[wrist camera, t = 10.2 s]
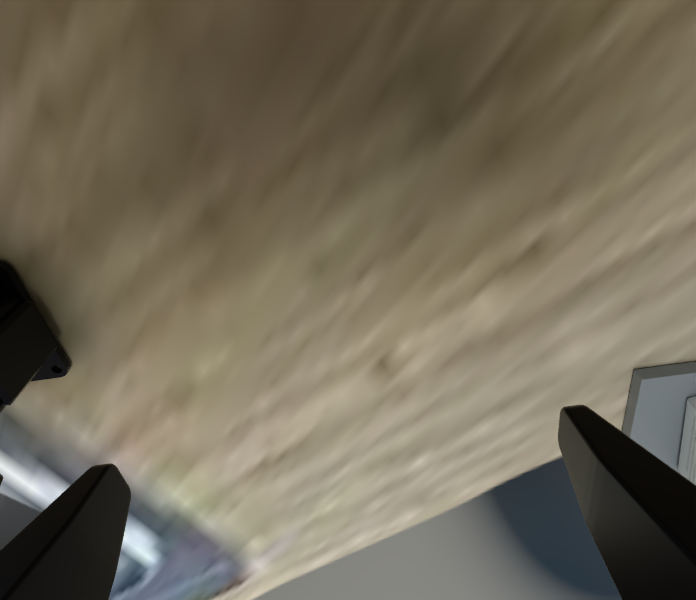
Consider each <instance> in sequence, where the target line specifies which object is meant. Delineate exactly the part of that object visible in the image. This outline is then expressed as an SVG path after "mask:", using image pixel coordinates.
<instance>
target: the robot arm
mask: <svg viewBox="0 0 696 600" xmlns="http://www.w3.org/2000/svg"><path fill="white" fill-rule="evenodd" d="M0 271H1V272H2V274H3V275H1V274H0V413H1V412H2V411H3V409H4V408H5V407H6V406H7V405H11V404H12V403H13V402H14V401H15V399H16V398H17V397H18V396H19V394H20V393H21V392H22V391H23V389H24V388H25V387H26V386H27V384H28V383H29V382H30V381H37V380H44V379H51V378H58V377H63V376H65V375H66V374H67V373H68V371H69V370H70V368H71V365H70V363H69V361H68V359H67V358H66V356H65V354H64V353H63V351H62V349H61V348H60V346H59V344H58V343H57V341H56V339H55V338H54V336H53V334H52V333H51V331H50V329H49V328H48V326H47V324H46V323H45V321H44V319H43V318H42V316H41V314H40V313H39V311H38V309H37V308H36V306H35V304H34V303H33V301H32V299H31V298H30V296H29V294H28V293H27V291H26V289H25V288H24V286H23V284H22V283H21V281H20V279H19V278H18V276H17V274H16V273H15V271H14V269H13V268H12V267H11V266H10V265H9V264H8V263H6V262H3V261H0ZM57 366H59V367H60V368H59V367H57ZM558 442H559V447H560V450H561V453H562V456H563V459H564V462H565V464H566V467H567V470H568V473H569V476H570V479H571V481H572V484H573V487H574V490H575V493H576V496H577V499H578V501H579V504H580V507H581V510H582V513H583V516H584V518H585V521H586V524H587V526H588V528H589V530H590V533H591V535H592V537H593V539H594V541H595V543H596V545H597V548H598V550H599V552H600V554H601V556H602V558H603V560H604V562H605V564H606V566H607V568H608V571H609V573H610V575H611V577H612V579H613V581H614V583H615V585H616V587H617V590H618V592H619V594H620V596H621V598H622V600H696V485H695V484H693V483H692V482H691V481H689V480H688V479H686V478H685V477H684V476H682V475H681V474H680V473H678V472H677V471H675V470H674V469H673V468H671V467H670V466H668V465H667V464H666V463H664V462H663V461H662V460H660V459H659V458H657V457H656V456H655V455H653V454H652V453H650V452H649V451H648V450H646V449H645V448H644V447H642V446H641V445H639V444H638V443H637V442H635V441H634V440H633V439H631V438H630V437H628V436H627V435H626V434H624V433H623V432H621V431H620V430H619V429H617V428H616V427H615V426H613V425H612V424H610V423H609V422H608V421H606V420H605V419H603V418H602V417H601V416H599V415H598V414H597V413H595V412H594V411H592V410H591V409H590V408H588V407H587V406H584V405H575V406H567V407H563V408H562V409H561V412H560V420H559V430H558ZM2 480H3V476H2V475H1V474H0V485H1V482H2ZM130 501H131V491H130V488H129V486H128V484H127V483H126V481H125V480H124V478H123V476H122V475H121V473H120V472H119V470H118V468H117V467H116V466H115V465H113V464H103V465H95V466H93V467H91V468H90V469H88V470H87V471H86V472H85V473H84V474H83V475H82V476H81V477H80V478H79V479H77V480H76V481H75V482H74V483H73V484H72V485H71V486H70V487H69V488H68V489H67V490H66V491H64V492H63V493H62V494H61V495H60V496H59V497H58V498H57V499H56V500H55V501H54V502H53V503H51V504H50V505H49V506H48V507H47V508H46V509H45V510H44V511H43V512H42V513H41V514H40V515H39V516H37V517H36V518H35V519H34V520H33V521H32V522H31V523H30V524H29V525H28V526H27V527H25V529H23V530H22V531H21V532H20V533H19V534H18V535H17V536H16V537H15V538H14V539H13V540H11V541H10V542H9V543H8V544H7V545H6V546H5V547H4V548H3V549H2V550H1V551H0V600H108V598H109V595H110V592H111V588H112V585H113V581H114V578H115V574H116V570H117V566H118V561H119V556H120V551H121V546H122V541H123V536H124V531H125V526H126V521H127V516H128V511H129V506H130Z"/></svg>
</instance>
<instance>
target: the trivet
mask: <svg viewBox="0 0 696 600" xmlns="http://www.w3.org/2000/svg"><path fill="white" fill-rule="evenodd" d="M695 396H696V362H688V363H681V364H673V365H665V366H658V367H650V368H643V369H635V370H634V372H633V377H632V382H631V387H630V393H629V398H628V403H627V408H626V413H625V419H624V424H623V429H622V432H623V433H624V434H626V435H627V436H628V437H630V438H631V439H633V440H634V441H635V442H637V443H638V444H639V445H641V446H642V447H644V448H645V449H646V450H648V451H649V452H650V453H652V454H653V455H655V456H656V457H657V458H659V459H660V460H662V461H663V462H664V463H666V464H667V465H668V466H670V467H671V468H673V469H674V470H675V471H677V472H678V473H680V472H679V471H678V464H679V457H680V450H681V443H682V435H683V428H684V420H685V413H686V405H687V399H688V398H691V397H695Z"/></svg>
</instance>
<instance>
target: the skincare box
mask: <svg viewBox="0 0 696 600" xmlns="http://www.w3.org/2000/svg"><path fill="white" fill-rule="evenodd" d="M678 471H679V472H680V474H681V475H682V476H684V477H685V478H686V479H688V480H689V481H691V482H692V483H693V484H695V485H696V396H695V397H691V398H688V399H687V405H686V413H685V420H684V428H683V435H682V443H681V450H680V457H679V464H678Z"/></svg>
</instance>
